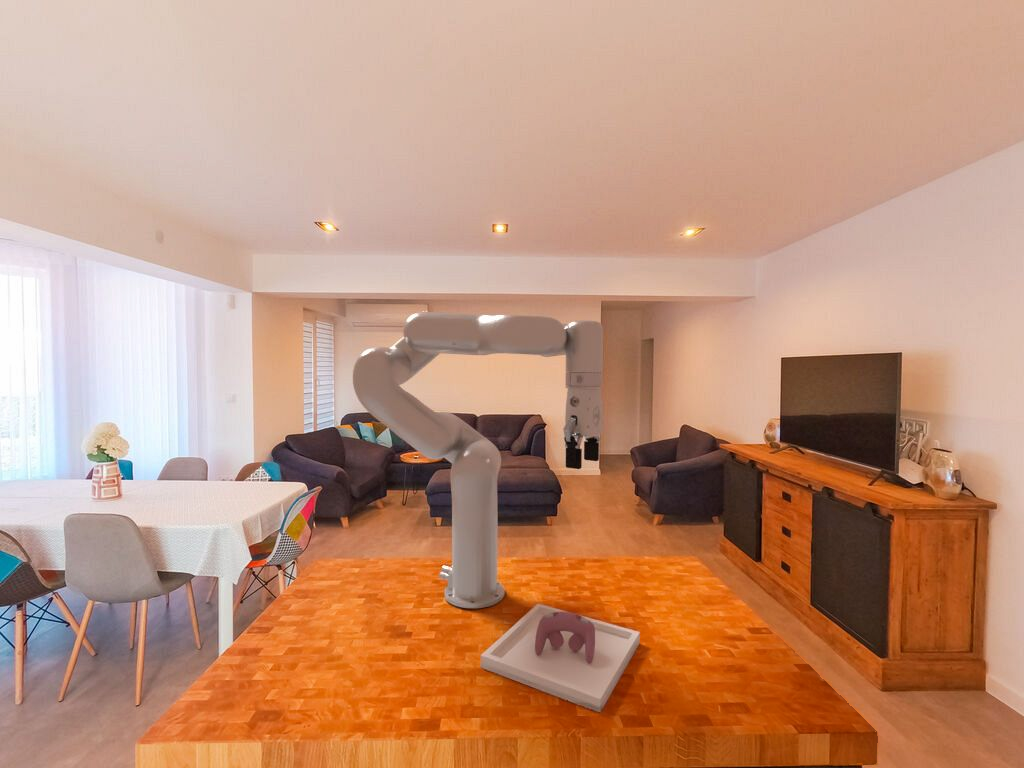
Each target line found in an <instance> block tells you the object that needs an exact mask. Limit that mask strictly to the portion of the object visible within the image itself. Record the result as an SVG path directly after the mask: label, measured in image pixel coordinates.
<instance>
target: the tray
mask: <svg viewBox="0 0 1024 768" xmlns="http://www.w3.org/2000/svg"><path fill="white" fill-rule="evenodd" d="M554 612H568V611H566V610H562V609H559V608H555V607H552V606H548V605H545V604H540V603H537V604H536V605H534V606H533V607H532V608H531V609H530V610H529V611H528V612H527V613H526V614H524V616H522V617H521V618H520V619H519V620H518V621H516V623H514V624H513V626H512V627H510V628H509V629H508V630H507V631H506V632H505V633H504V634H503V635H502V636H500V637H499V638H498V639H497V640H496V641H495V642H494V643H492V645H490V646H489V647H488V648H487V649H486V650H485V651H484V652H483V653H481V654H480V668H481V669H483V670H485V671H489V672H492V673H494V674H496V675H500V676H501V677H504V678H507V679H510V680H513V681H514V682H517V683H521V684H523V685H525V686H528V687H531V688H534V689H535V690H538V691H541V692H543V693H547V694H549V695H551V696H554V697H556V698H557V697H558V698H559V699H562V700H564V701H567V700H568V701H567V702H571V703H573V704H575V705H577V706H580V705H582V706H581V707H583V706H584V707H583V708H586V709H588V708H589V709H588V710H591V709H593V710H595V711H594V712H596V711H598V712H597V713H599V712H600V713H601V712H602V711H603V708H604V707H605V705H606V703H607V701H608V700H609V698H610V696H611V695H612V693H613V691H614V689H615V687H616V686H617V684H618V682H619V681H620V678H622V675H623V673H624V672H625V670H626V668H627V666H628V665H629V663H630V661H631V659H632V658H633V656H634V654H635V652H636V650H637V649H638V647H639V645H640V638H641V635H640V634H641V632H640V631H636V630H634V629H631V628H626V627H622V626H620V625H616V624H613V623H610V622H605V621H602V620H597V619H594V618H591V617H587V616H584V615H581V614H579V615H580V616H582V617H584V618H586V619H587V620H589V621H590V622H591V623H592V624H593V625H594V627H595V650H594V657H593V660H592V662H591V663H587V660H586V655H585V643H584V644H583V646H582V648H581V649H580V650H579V651H576V652H575V651H573V650H571V649H570V648H569V645H568V642H569V639H570V637H571V636H572V635H573V634H574V633H572V632H567V631H560V633H561V634H562V636H563V639H564V643H563V645H562V646H561V647H560V648H553V647H552V646H551V644H550V641H549V639H548V638H547V639H546V642H545V645H544V648H543V651H542V653H541V654H540V655H536V653H535V640H536V633H537V628H538V625H539V622H540V620H541V619H542V617H543V616H545V615H547V614H548V613H554ZM593 710H592V711H593ZM601 710H602V711H601Z"/></svg>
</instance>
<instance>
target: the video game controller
mask: <svg viewBox="0 0 1024 768" xmlns="http://www.w3.org/2000/svg"><path fill="white" fill-rule="evenodd" d="M580 615H581V614H577V613H573V612H570V611H567V612H554V613H548V614H547V615H545V616H543V617H542V619H541V620H540V622H539V625H538V628H537V633H536V640H535V653H536V655H540V654H541V653H542V651H543V648H544V645H545V642H546V639H547V638H548V639H549V641H550V644H551V646H552V647H553V648H560V647H561V646H562V645H563V643H564V639H563V636H562V634H561V633H560V631H567V632H572V633H574V634H573V635H572V636H571V637H570V639H569V642H568V645H569V648H570V649H571V650H573V651H575V652H576V651H579V650H580V649H581V648H582V646H583V644H584V643H585V655H586V660H587V663H591V662H592V660H593V657H594V650H595V627H594V625H593V624H592V623H591V622H590V621H589V620H587V619H586V618H584V617H585V616H584V617H582V616H583V615H581V616H580Z"/></svg>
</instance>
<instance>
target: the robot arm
mask: <svg viewBox="0 0 1024 768" xmlns="http://www.w3.org/2000/svg"><path fill="white" fill-rule="evenodd" d="M402 329H403V330H402V333H403V334H402V335H403V337H402V338H401V339H399V340H398V341H397V342H396V343H394V344H393V345H392V346H391V347H385V346H376V347H372V348H368V349H365V350H364V351H363V352H362V353H361V354H360V355H359V356H358V357H357V358H356V361H355V363H354V366H353V369H352V384H353V390H354V393H355V396H356V397H357V400H358V401H359V402H360V404H361V405H362V407H363V408H364V409H365V410H366V411H367V412H368V413H369V414H370V415H372V417H374V418H375V419H376V420H377V421H379V422H380V423H381V424H383V425H384V426H385V427H386V428H387V429H389V430H391V431H392V432H393V434H395V435H396V436H398V437H399V438H400V439H402V440H403V442H406V443H407V444H408V445H409V446H411V448H413V449H414V450H415V451H417V452H418V453H419V454H420V455H422V456H423V457H425V458H427V459H429V460H440V459H443V458H444V459H446V461H448V462H449V463H451V467H450V473H449V474H450V477H449V478H450V479H449V480H450V490H451V491H450V492H451V511H452V512H451V517H452V518H451V524H452V525H451V533H452V535H451V537H452V538H451V539H452V540H451V542H452V546H451V549H452V550H451V552H452V553H451V556H452V557H451V566H450V565H443V566H442V567H441V570H440V572H439V574H438V578H439V579H441V580H444V581H445V580H446V581H447V586H445V589H444V598H445V600H446V601H447V602H448V603H449V604H451V605H453V606H454V607H457V608H462V609H463V608H464V609H484V608H487V607H488V608H489V607H491V606H495V605H496V604H498V603H499V602H500V601H502V600H503V598H504V597H505V587H504V585H503V583H501V582H499V581H498V526H499V525H498V522H499V521H498V475H499V472H500V469H501V466H502V456H501V455H502V454H501V452H500V450H499V449H498V447H497V446H496V445H495V444H494V443H492V441H491V440H489V438H487V437H486V436H484V435H483V434H481V433H480V432H479V431H478V430H476V429H475V428H473V426H470V424H468V423H467V422H465V421H464V420H463V419H461V418H460V417H458V416H457V415H455V414H454V413H451V412H449V411H438V412H436V411H435V410H433V409H432V408H430V407H429V406H427V405H426V404H424V402H422V401H421V400H420V399H418V397H415V396H414V395H412V393H410V392H408V391H406V390H405V389H403V387H401V386H400V385H403V384H405V383H406V382H408V381H409V380H411V379H412V378H413V377H415V375H417V374H418V373H419V372H420V371H422V370H423V369H424V368H425V367H426V366H427V365H428V364H429V363H431V362H432V361H433V360H434V359H436V358H437V357H438V356H439V355H440V354H446V355H462V356H463V355H467V356H489V355H494V354H495V355H496V354H508V355H509V354H510V355H511V354H514V355H529V356H530V355H531V356H540V357H545V358H549V357H556V356H557V357H558V356H565V386H564V387H565V389H567V391H566V401H565V413H564V414H565V415H564V427H563V435H564V437H563V440H564V443H565V444H564V447H565V467H566V468H567V469H574V470H581V469H582V466H583V465H582V462H583V460H582V458H583V459H584V461H591V462H598V461H599V459H600V435H601V434H602V433H603V432H604V415H603V414H604V412H603V411H604V410H603V409H604V408H603V395H602V389H603V361H604V355H603V354H604V351H603V350H604V327H603V324H602V323H601V322H600V321H596V320H575V321H571V322H569V323H562V322H561V321H560V320H558V319H556V318H553V317H551V316H545V315H544V316H541V315H540V316H539V315H521V314H520V315H519V314H517V315H516V314H514V315H513V314H487V313H485V314H484V313H483V314H482V313H481V314H480V313H479V314H478V313H459V312H458V313H456V312H454V313H452V312H435V311H434V312H433V311H422V312H421V311H420V312H415V313H413V314H411V315H410V316H408V318H407V319H406V321H405V322H404V325H403V328H402ZM583 438H585V441H583ZM582 442H583V443H584V444H583V449H582V448H581V445H582ZM582 455H583V457H582Z"/></svg>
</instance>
